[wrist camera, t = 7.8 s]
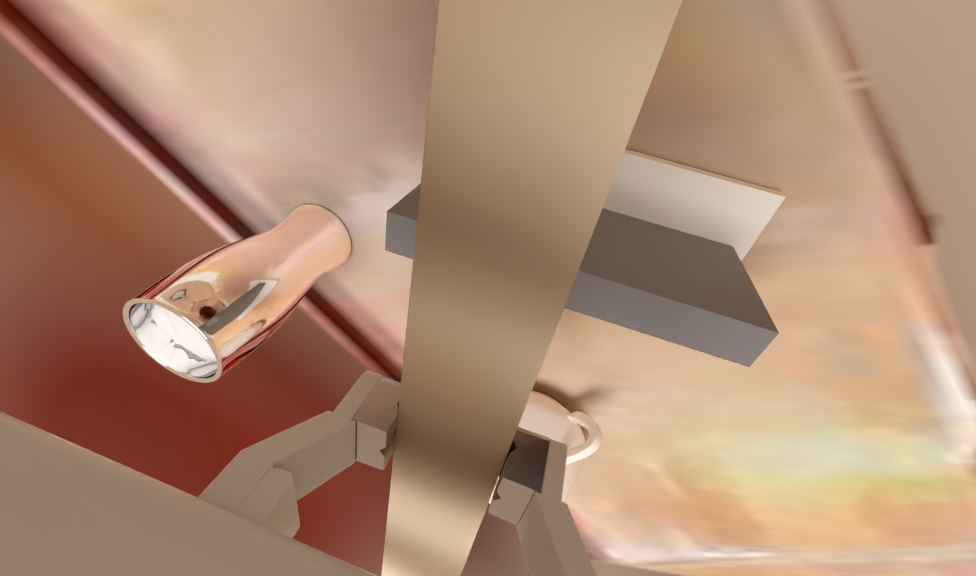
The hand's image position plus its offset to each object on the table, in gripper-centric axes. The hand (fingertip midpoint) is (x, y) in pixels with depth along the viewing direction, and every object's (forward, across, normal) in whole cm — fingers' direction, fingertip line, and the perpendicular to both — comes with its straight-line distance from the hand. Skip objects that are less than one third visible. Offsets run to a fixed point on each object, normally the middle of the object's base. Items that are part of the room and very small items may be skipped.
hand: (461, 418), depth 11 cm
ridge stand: (+20, -2, +1) cm, 21 cm away
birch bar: (+2, 0, 0) cm, 2 cm away
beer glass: (+20, +19, +10) cm, 30 cm away
